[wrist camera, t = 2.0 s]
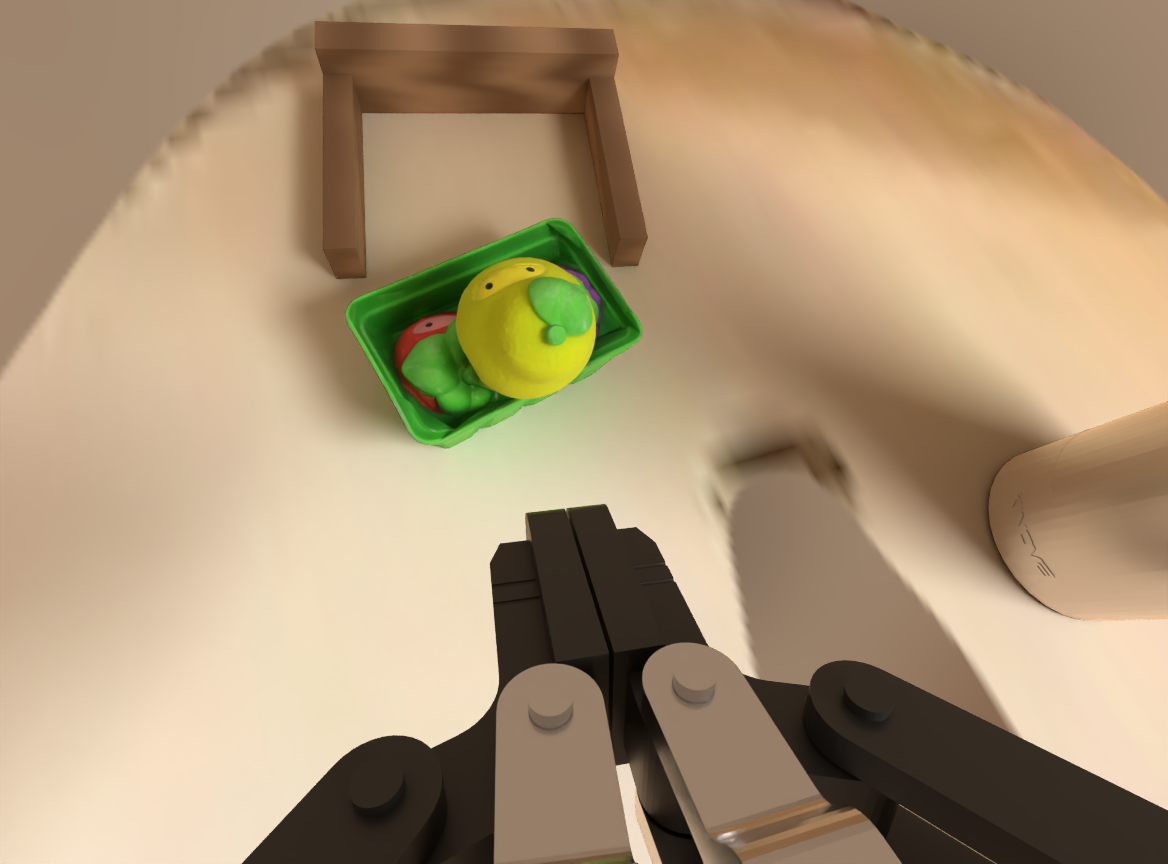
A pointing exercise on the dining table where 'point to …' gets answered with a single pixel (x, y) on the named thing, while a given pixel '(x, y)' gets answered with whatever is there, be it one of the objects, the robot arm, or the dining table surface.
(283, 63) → the dining table surface
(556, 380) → the fruit basket
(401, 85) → the frame
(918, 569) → the dining table surface
